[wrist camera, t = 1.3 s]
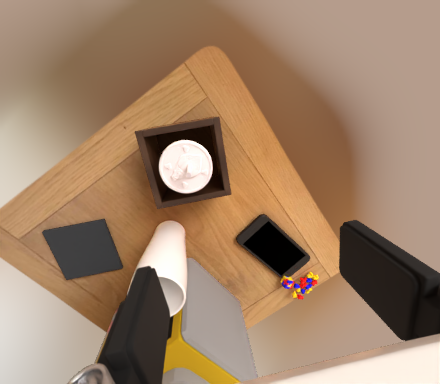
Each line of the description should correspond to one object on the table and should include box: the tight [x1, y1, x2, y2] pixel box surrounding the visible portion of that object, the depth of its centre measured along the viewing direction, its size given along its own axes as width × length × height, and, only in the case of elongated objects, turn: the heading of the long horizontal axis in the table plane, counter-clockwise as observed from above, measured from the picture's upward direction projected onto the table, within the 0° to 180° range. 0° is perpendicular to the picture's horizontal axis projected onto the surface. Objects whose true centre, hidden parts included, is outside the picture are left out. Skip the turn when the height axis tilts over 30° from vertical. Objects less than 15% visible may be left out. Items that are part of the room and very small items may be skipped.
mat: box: [42, 219, 123, 280], centre depth 38 cm, size 10×10×1 cm
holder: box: [135, 117, 231, 209], centre depth 31 cm, size 10×10×8 cm
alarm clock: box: [94, 258, 258, 384], centre depth 35 cm, size 20×16×18 cm
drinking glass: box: [127, 220, 188, 317], centre depth 32 cm, size 7×7×15 cm
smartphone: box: [236, 214, 310, 278], centre depth 42 cm, size 7×15×1 cm, turn 46°
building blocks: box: [280, 272, 319, 299], centre depth 45 cm, size 6×8×2 cm
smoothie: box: [159, 140, 213, 193], centre depth 28 cm, size 6×6×14 cm
